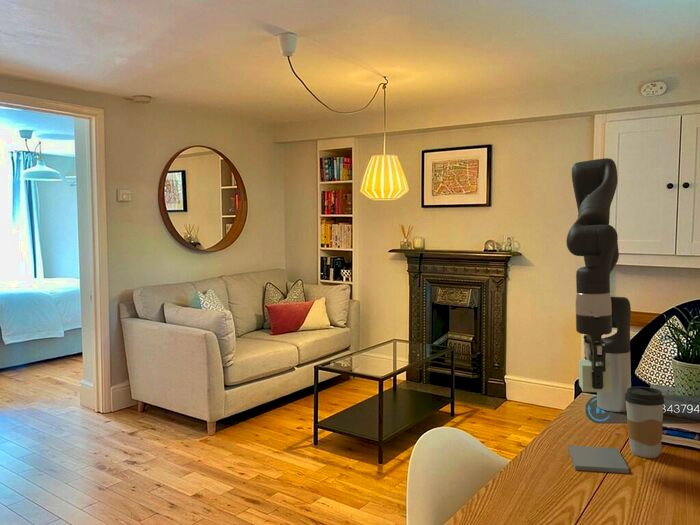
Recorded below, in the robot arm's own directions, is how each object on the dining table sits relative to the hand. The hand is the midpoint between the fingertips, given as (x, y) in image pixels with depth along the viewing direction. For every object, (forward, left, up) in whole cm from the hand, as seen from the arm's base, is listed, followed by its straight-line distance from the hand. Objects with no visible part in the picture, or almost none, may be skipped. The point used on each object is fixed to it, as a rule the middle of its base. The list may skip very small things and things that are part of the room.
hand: (595, 384), depth 127 cm
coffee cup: (-6, +12, -18) cm, 23 cm away
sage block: (0, 0, -1) cm, 1 cm away
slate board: (0, 0, -18) cm, 18 cm away
